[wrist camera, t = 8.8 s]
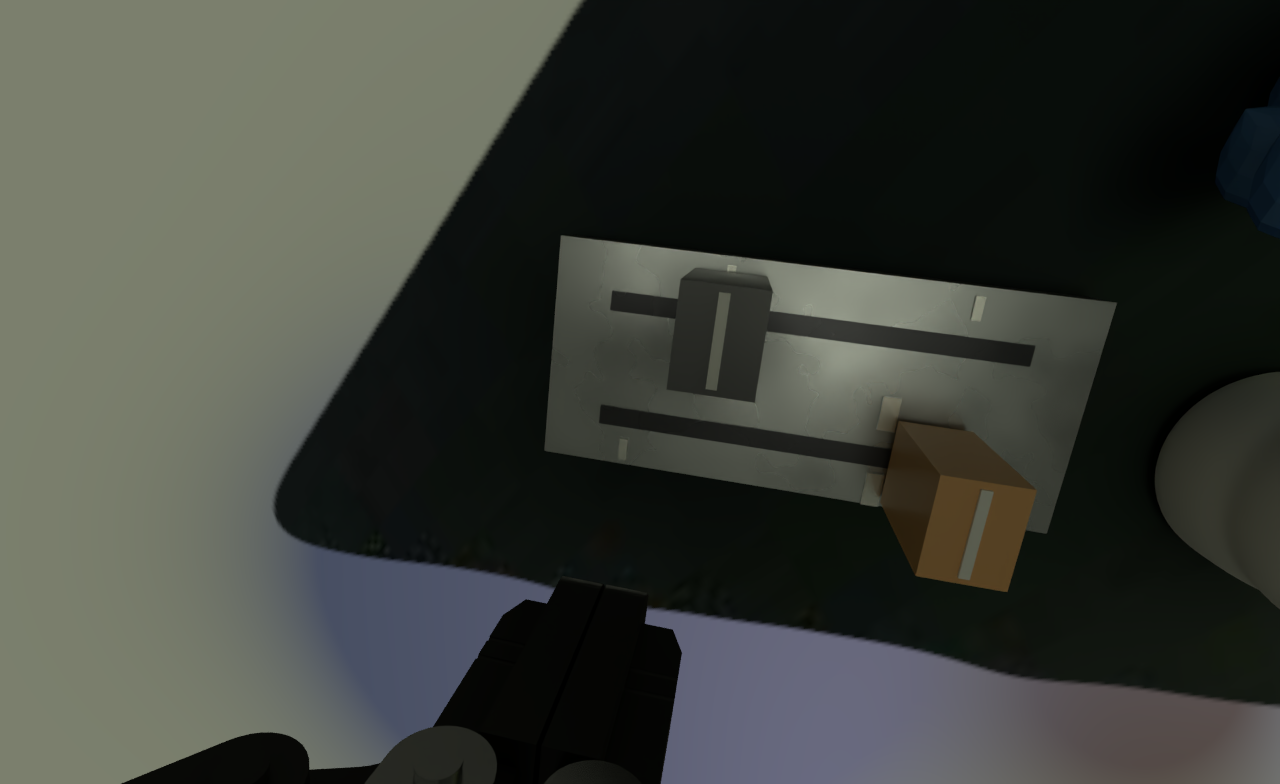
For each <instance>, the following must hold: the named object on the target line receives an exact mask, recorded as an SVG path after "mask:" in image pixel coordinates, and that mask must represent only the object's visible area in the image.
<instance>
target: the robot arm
mask: <svg viewBox="0 0 1280 784" xmlns="http://www.w3.org/2000/svg"><path fill="white" fill-rule="evenodd" d="M647 603H648V593H646V592H641V591H636V590H631V589H626V588H621V587H616V586H611V585H606V587H605V586H604V584H600V583H595V582H590V581H585V580H580V579H575V578H570V577H565V576H563V577H562V578H561V579H560V581H559V582H558V584H557V586H556V588H555V590H554V592H553V594H552V596H551V597H550V599H549V601H548V603H547V604H546V603H541V602H536V601H531V600H524V601H523V602H522V603H520V604H519V605H517V606H516V607H514V608H513V609H511V610H510V611H508V612H507V613H505V614H504V615H503V616H502V618H501V619H500V621H499V622H498V624H497V626H496V627H495V629H494V631H493V632H492V634H491V635H490V638H489V641H486V643H485V645H484V646H483V648H482V649H481V651H480V653H479V655H478V658H477V659H475V661H474V662H473V664H472V665H471V667H470V669H469V670H468V672H467V673H466V675H465V677H464V678H463V680H462V681H461V683H460V685H459V686H458V688H457V689H456V691H455V693H454V694H453V696H452V697H451V699H450V701H449V702H448V704H447V706H446V707H445V709H444V710H443V712H442V713H441V715H440V717H439V718H438V720H437V721H436V723H435V725H434V726H433V727H432V728H428V729H425V730H421V731H418V732H416V733H414V734H412V735H410V736H408V737H407V738H405V739H404V740H402V741H401V742H399V743H398V744H397V745H396V746H395V747H394V748H393V749H392V750H391V751H390V752H389V753H388V754H387V756H386V757H385V758H384V759H383V761H382V762H381V763H379V764H375V765H371V766H363V767H351V768H335V769H334V768H333V769H315V770H309V757H308V754H307V751H306V750H305V748H304V747H303V745H302V744H301V743H300V742H298V741H297V740H296V739H294V738H292V737H290V736H287V735H283V734H279V733H254V734H249V735H245V736H241V737H237V738H234V739H231V740H229V741H226V742H224V743H221V744H218V745H216V746H213V747H211V748H208V749H206V750H203V751H201V752H199V753H196V754H194V755H191V756H189V757H186V758H184V759H181V760H179V761H176V762H174V763H171V764H169V765H166V766H164V767H161V768H159V769H156V770H154V771H151V772H149V773H147V774H144V775H142V776H139V777H137V778H134V779H132V780H129V781H127V782H125V783H122V784H661V778H662V772H663V766H664V760H665V754H666V748H667V742H668V736H669V730H670V724H671V717H672V712H673V705H674V699H675V693H676V686H677V680H678V674H679V667H680V660H681V655H682V652H681V649H680V647H679V644H678V642H677V639H676V637H675V634H674V632H673V630H672V629H667V628H662V627H657V626H652V625H647V624H645V617H646V611H647Z"/></svg>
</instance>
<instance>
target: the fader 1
mask: <svg viewBox="0 0 1280 784" xmlns="http://www.w3.org/2000/svg"><path fill="white" fill-rule="evenodd" d="M772 294H773V290H772V287H771V285H770V282H769V279H768V277H766V276H758V275H750V274H742V273H734V272H726V271H718V270H710V269H702V268H694V269H693V270H692V271H690V272H689V273H688V274H686V275H685V276H684V277H683V278H681V279H680V286H679V294H678V302H677V310H676V318H675V326H674V334H673V341H672V349H671V357H670V365H669V373H668V381H667V389H666V390H673V391H679V392H686V393H693V394H699V395H706V396H713V397H720V398H726V399H733V400H740V401H746V402H753V403H755V398H756V391H757V385H758V379H759V373H760V367H761V361H762V355H763V349H764V343H765V337H766V331H767V325H768V318H769V312H770V306H771V300H772Z"/></svg>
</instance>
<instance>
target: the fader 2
mask: <svg viewBox="0 0 1280 784" xmlns="http://www.w3.org/2000/svg"><path fill="white" fill-rule="evenodd" d="M1036 493H1037V490H1036V489H1035V488H1034V487H1033V486H1032V485H1031V484H1030V483H1029V482H1028V481H1026V480H1025V479H1024V478H1023V477H1022V476H1021V475H1020V474H1019V473H1018V472H1017V471H1015V470H1014V469H1013V468H1012V467H1011V466H1010V465H1009V464H1008V463H1007V462H1006V461H1004V460H1003V459H1002V458H1001V457H1000V456H999V455H998V454H997V453H996V452H995V451H994V450H992V449H991V448H990V447H989V446H988V445H987V444H986V443H985V442H984V441H983V440H981V439H980V438H979V437H978V436H977V435H976V434H975V433H974V432H970V431H963V430H957V429H950V428H943V427H936V426H930V425H923V424H916V423H910V422H903V421H899V422H898V426H897V430H896V435H895V439H894V444H893V448H892V452H891V457H890V461H889V466H888V470H887V474H886V479H885V483H884V488H883V492H882V496H881V501H880V503H881V505H882V507H883V509H884V511H885V513H886V515H887V518H888V520H889V522H890V524H891V526H892V528H893V530H894V532H895V534H896V536H897V538H898V540H899V543H900V545H901V547H902V549H903V551H904V553H905V555H906V557H907V559H908V561H909V563H910V565H911V568H912V570H913V572H914V574H915V576H919V577H925V578H930V579H936V580H942V581H947V582H953V583H958V584H964V585H970V586H975V587H981V588H987V589H992V590H998V591H1004V592H1007V591H1008V588H1009V584H1010V581H1011V577H1012V574H1013V571H1014V567H1015V564H1016V560H1017V557H1018V554H1019V550H1020V547H1021V543H1022V540H1023V537H1024V533H1025V530H1026V527H1027V523H1028V520H1029V516H1030V513H1031V510H1032V506H1033V503H1034V499H1035V496H1036Z"/></svg>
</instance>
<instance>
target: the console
mask: <svg viewBox="0 0 1280 784" xmlns="http://www.w3.org/2000/svg"><path fill="white" fill-rule="evenodd" d="M694 268H702V269H710V270H718V271H726V272H734V273H742V274H750V275H758V276H766V277H768V279H769V282H770V285H771V287H772V290H773V294H772V300H771V306H770V312H769V318H768V325H767V331H766V337H765V343H764V349H763V355H762V361H761V367H760V373H759V379H758V385H757V391H756V398H755V403H753V402H746V401H740V400H733V399H726V398H720V397H713V396H706V395H699V394H693V393H686V392H679V391H673V390H666V389H667V381H668V373H669V365H670V357H671V349H672V341H673V334H674V326H675V318H676V310H677V302H678V294H679V286H680V279H681V278H683V277H684V276H685V275H686V274H688V273H689V272H690V271H692V270H693V269H694ZM1116 304H1117V303H1115V302H1110V301H1105V300H1100V299H1095V298H1090V297H1086V296H1078V295H1069V294H1061V293H1053V292H1044V291H1036V290H1028V289H1020V288H1011V287H1003V286H995V285H987V284H978V283H970V282H962V281H954V280H945V279H937V278H929V277H921V276H912V275H904V274H896V273H888V272H879V271H871V270H863V269H854V268H846V267H838V266H830V265H821V264H813V263H805V262H797V261H788V260H780V259H772V258H764V257H755V256H747V255H739V254H731V253H722V252H714V251H706V250H698V249H689V248H681V247H673V246H664V245H656V244H648V243H640V242H631V241H623V240H615V239H607V238H598V237H590V236H582V235H561V243H560V256H559V269H558V282H557V295H556V307H555V320H554V333H553V346H552V359H551V372H550V385H549V398H548V411H547V424H546V437H545V450H544V451H549V452H555V453H561V454H567V455H574V456H580V457H586V458H592V459H598V460H604V461H610V462H616V463H622V464H628V465H634V466H640V467H646V468H652V469H658V470H664V471H670V472H677V473H683V474H689V475H695V476H701V477H707V478H713V479H719V480H725V481H731V482H737V483H743V484H749V485H755V486H761V487H767V488H773V489H780V490H786V491H792V492H798V493H804V494H810V495H816V496H822V497H828V498H834V499H840V500H846V501H852V502H858V503H860V504H863V505H869V506H875V507H878V506H882V505H881V503H880V501H881V496H882V492H883V488H884V483H885V479H886V474H887V470H888V466H889V461H890V457H891V452H892V448H893V444H894V439H895V435H896V430H897V426H898V422H899V421H903V422H910V423H916V424H923V425H930V426H936V427H943V428H950V429H957V430H963V431H970V432H974V433H975V434H976V435H977V436H978V437H979V438H980V439H981V440H983V441H984V442H985V443H986V444H987V445H988V446H989V447H990V448H991V449H992V450H994V451H995V452H996V453H997V454H998V455H999V456H1000V457H1001V458H1002V459H1003V460H1004V461H1006V462H1007V463H1008V464H1009V465H1010V466H1011V467H1012V468H1013V469H1014V470H1015V471H1017V472H1018V473H1019V474H1020V475H1021V476H1022V477H1023V478H1024V479H1025V480H1026V481H1028V482H1029V483H1030V484H1031V485H1032V486H1033V487H1034V488H1035V489H1036V490H1037V493H1036V496H1035V499H1034V503H1033V506H1032V510H1031V513H1030V516H1029V520H1028V523H1027V527H1026V530H1028V531H1034V532H1040V533H1046V534H1047V531H1048V528H1049V524H1050V521H1051V518H1052V515H1053V511H1054V508H1055V505H1056V501H1057V498H1058V495H1059V492H1060V488H1061V485H1062V482H1063V478H1064V475H1065V472H1066V469H1067V465H1068V462H1069V459H1070V455H1071V452H1072V449H1073V446H1074V442H1075V439H1076V436H1077V432H1078V429H1079V426H1080V423H1081V419H1082V416H1083V413H1084V409H1085V406H1086V403H1087V400H1088V396H1089V393H1090V390H1091V386H1092V383H1093V380H1094V377H1095V373H1096V370H1097V367H1098V363H1099V360H1100V357H1101V354H1102V350H1103V347H1104V344H1105V340H1106V337H1107V334H1108V331H1109V327H1110V324H1111V321H1112V317H1113V314H1114V311H1115V308H1116Z"/></svg>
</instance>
